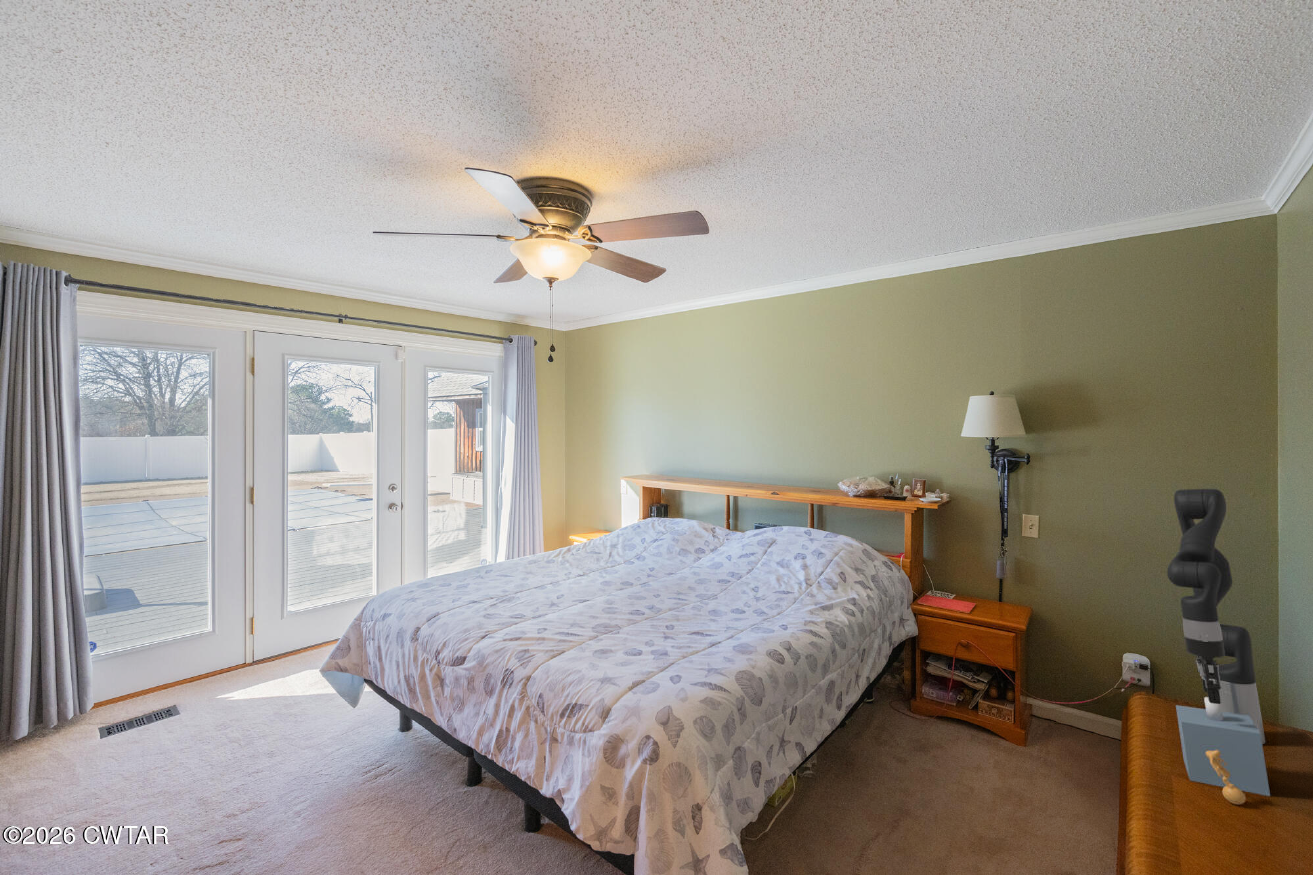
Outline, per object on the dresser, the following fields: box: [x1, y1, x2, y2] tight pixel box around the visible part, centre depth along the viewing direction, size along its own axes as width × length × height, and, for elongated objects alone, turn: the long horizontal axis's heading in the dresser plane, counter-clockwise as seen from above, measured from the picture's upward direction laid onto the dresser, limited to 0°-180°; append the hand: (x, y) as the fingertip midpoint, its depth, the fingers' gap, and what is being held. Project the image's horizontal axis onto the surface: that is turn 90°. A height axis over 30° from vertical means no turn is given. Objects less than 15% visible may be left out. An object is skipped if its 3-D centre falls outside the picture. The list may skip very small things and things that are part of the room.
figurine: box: [1206, 750, 1246, 805], centre depth 138 cm, size 8×6×12 cm
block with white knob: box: [1175, 696, 1271, 797], centre depth 148 cm, size 13×15×20 cm
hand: (1212, 697), depth 149 cm, fingers open, 8 cm apart
